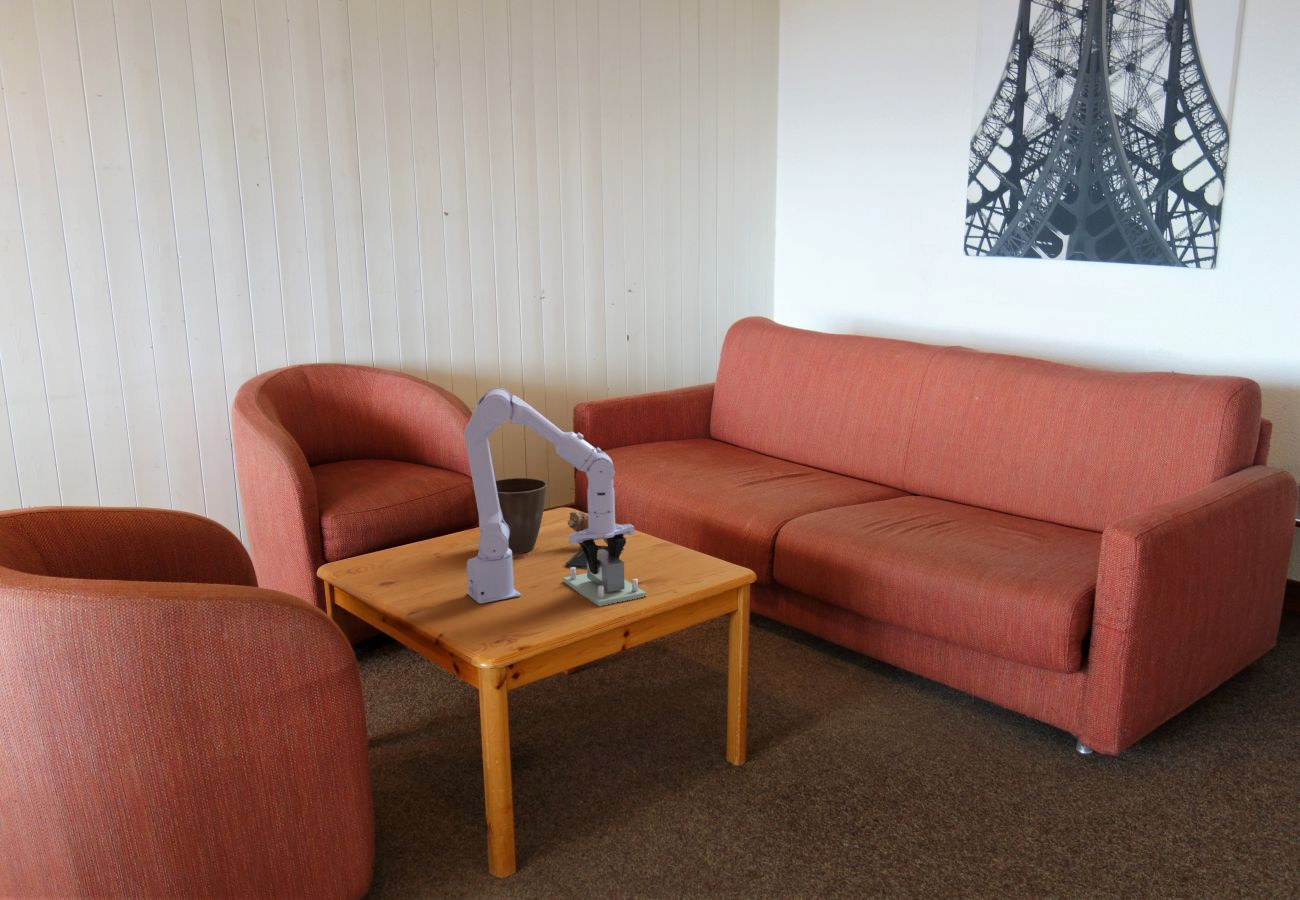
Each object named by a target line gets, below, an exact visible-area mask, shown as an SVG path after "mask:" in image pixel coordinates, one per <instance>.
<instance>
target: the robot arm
mask: <svg viewBox="0 0 1300 900" xmlns="http://www.w3.org/2000/svg"><path fill="white" fill-rule="evenodd" d="M509 419H510V423H509V425H525V426H527V428H528V429H531V430H532V431H534V432H535V433H536V434H538V435H539V436H541V437H543V438H544V439H546V440H547V441H549V442H550V443H551V444H553V446H555V453H556V455H558V456H560V458H562V459H564V460H565V461H566V462H568V463H569V464H570V465H572V466H573V467H574V468H576V469H577V470H578V471H580V472H584V473H585V474H586V477H587V481H588V482H587V483H588V488H587V490H586V492H587V493H586V494H587V515H588V529H586V530H583V531H580V532H573V533H569V534H568V541H569V542H568V543H569V544H571V545H572V546H575V545H579V546H580V548H581V549H582V550H583V552H584V554H585V556H586V559H587V561H588V565H589V568H590V572H591V573H593V574H597V553H598V548H599V546H600V545H597V543H596V541H599V540H603V539H605V538H606V539H607V544H608V545H607V544H606V545H607V546H608V551H609V553H611V554H612V555H614V556H615V557H617V558H618V559H620V556H621V553H622V551H623V550H622V549H623V548H624V547H625V546H626V544H627V537H625V536H626V535H629V536H632V535H633V536H634V535H635V526H634V525H632V524H631V523H626V524H616V510H615V509H616V508H615V506H616V505H615V502H616V501H615V488H614V484H615V483H614V477H615V475H616V471H615V468H614V467H615V466H614V463H613V461H612V460H613V459H612V458H611V457H610V456H609V455H608V453H606V452H605V451H602V449H601V448H600V447H599V446H597V447H595V446H593V445H592V444H590V443H589V442H587V441H586V440H585V439H584V434H582V433H580V432H577V433H575V432H574V431H566V432H565V431H563V430H561V429H560V428H559V427H558V426H556V425H555V424H554V423H552V422H551V420H549V419H548V418H547V417H545V416H544V415H542V414H541V413H540V412H538V410H536V409H535V408H534V407H532V406H531V405H530V404H529V403H527V402H526V401H524V400H523V399H522V398H520V397H518V396H517V395H514V394H511V393H510V392H509V390H507V389H505V388H503V387H493V388H490V389H488V391H486V393H484V394H483V395H482V396H481V398H480V399H479V400H478V401H477V403H476V406H475V408H474V410H473V412H472V413H471V416H470V418H469V420H468V423H467V425H466V427H465V428H464V429H465V430H464V432H463V433H464V434H463V435H464V440H465V445H466V453H467V457H468V462H469V464H468V465H469V468H470V474H471V479H472V480H471V481H472V485H473V490H474V491H473V492H474V495H475V496H474V497H475V501H476V507H477V508H476V509H477V513H478V524H479V525H478V527H479V533H480V534H479V538H478V541H477V548H478V552H477V556H475V557H473V558H469V559H467V561H466V582H467V583H466V584H467V591H466V594H467V595H469V597H471V598H472V599H473V600H474V601H475V602H476V603H478V604H479V605H481V604H487V603H491V602H496V601H500V600H506V599H507V600H508V599H511V598H517V597H521V595H522V594H521V593H520V592H519V591H518V590H517V589H515V585H514V584H515V583H514V564H513V553H512V550H511V549H509V547H508V545H509V543H508V539H509V536H510V530H509V527H508V525H507V524H506V523H505V521H504V519H503V516H502V511H501V509H500V504H499V499H498V493H497V487H496V482H495V481H496V476H495V472H494V466H493V465H494V464H493V460H492V459H493V458H492V454H491V449H490V442H489V437H490V436H491V435H492V434H493V432H495V430H496V428H498V427H499V426H502V425H503V424H504V423H506V422H507V421H508V420H509Z"/></svg>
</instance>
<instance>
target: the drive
mask: <svg viewBox="0 0 1300 900" xmlns="http://www.w3.org/2000/svg"><path fill="white" fill-rule="evenodd" d="M586 570H587V571H586V573H587V578H588V579H589V580H591V581H592V582H594V583H595V584H596V585H598V586H600V585H602V586H604V590H605V591H606V592H612V591H617V590H622V589H625V587H624V579H625V562H624V561H623V560H621V559H620V558H619V559H618V558H617V557H615V556H614V555H612V554H611V553H609V552H607V551H606V550H604V549H599V550H598V553H597V574H593V573H591V572H590V568H589V565H588V561H587V569H586Z"/></svg>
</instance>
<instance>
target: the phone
mask: <svg viewBox="0 0 1300 900" xmlns="http://www.w3.org/2000/svg"><path fill="white" fill-rule="evenodd" d="M598 546H599V548H598V550H599V549H604V550H606V551H607V552H609V551H608V545H598ZM565 567H567V568H571V567H575V568H576V569H584V570H587V559H586V556H585V554H584V552H583V550H582V548H581V549H580V550H578V552H577V553H576V554H574V555H573V556H572V557H571V558H570V559H568V560H567V561H566V562H565Z"/></svg>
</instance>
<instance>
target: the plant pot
mask: <svg viewBox="0 0 1300 900" xmlns="http://www.w3.org/2000/svg"><path fill="white" fill-rule="evenodd" d="M495 482H496V487H497V493H498V499H499V504H500V509H501V511H502V516H503V519H504V521H505V523H506V524H507V525H508V527H509V530H510V536H509V539H508V543H509V545H508V547H509V549H511V550H512V554H522V553H524V554H525V553H527V552H531V551H533V550H534V549H535V545H536V543H537V540H538V537H539V532H540V529H541V524H542V519H543V516H544V510H545V501H546V494H547V482H546V481H544V480H542V479H538V478H529V477H518V478H517V477H516V478H515V477H512V478H502V479H496V480H495Z"/></svg>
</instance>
